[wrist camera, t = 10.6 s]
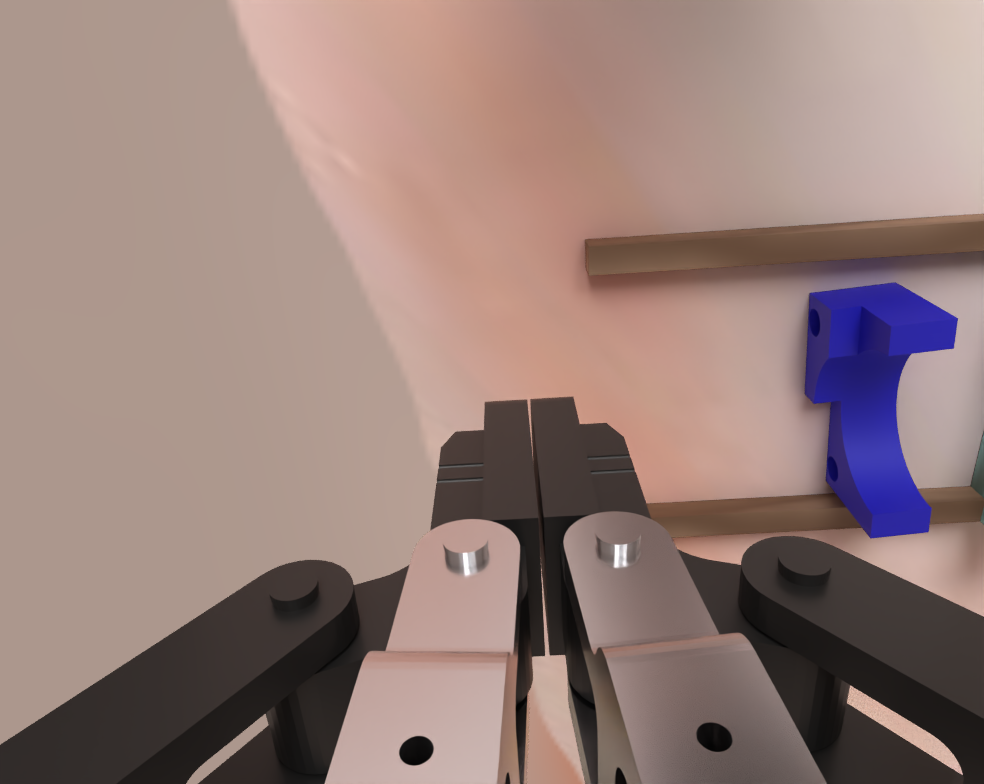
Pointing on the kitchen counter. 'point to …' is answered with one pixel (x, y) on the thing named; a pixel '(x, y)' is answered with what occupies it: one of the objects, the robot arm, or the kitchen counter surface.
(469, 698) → the robot arm
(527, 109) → the kitchen counter surface
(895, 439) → the cable clip
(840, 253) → the guide channel
